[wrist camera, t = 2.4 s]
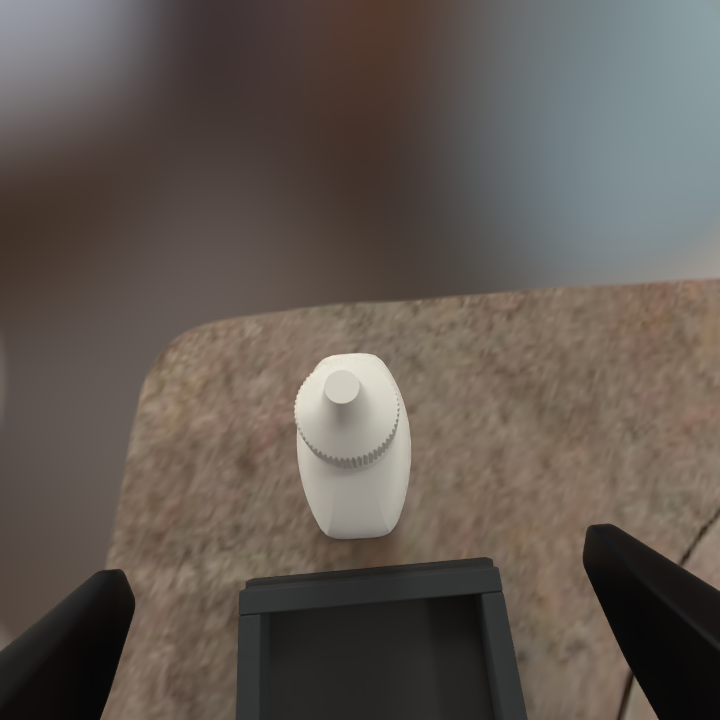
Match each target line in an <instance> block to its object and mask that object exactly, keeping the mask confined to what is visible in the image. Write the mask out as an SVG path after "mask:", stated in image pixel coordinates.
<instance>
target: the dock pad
mask: <svg viewBox="0 0 720 720" xmlns="http://www.w3.org/2000/svg"><path fill="white" fill-rule="evenodd" d="M501 591H502V584H501V579H500V574H499V569H498V568H497V567H494V566H493V561H492V559H490V558H486V557H484V558H473V559H462V560H451V561H440V562H429V563H418V564H407V565H397V566H386V567H375V568H364V569H353V570H342V571H331V572H320V573H310V574H299V575H288V576H277V577H266V578H255V579H251V580H248V581H246V589H244V590H241V591H240V593H239V615H241V616H239V627H238V667H237V707H236V720H527V714H526V709H525V704H524V699H523V694H522V688H521V683H520V678H519V673H518V668H517V662H516V657H515V652H514V647H513V642H512V636H511V631H510V626H509V621H508V616H507V610H506V605H505V600H504V595H503V592H501Z"/></svg>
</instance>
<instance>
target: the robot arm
mask: <svg viewBox="0 0 720 720" xmlns="http://www.w3.org/2000/svg"><path fill="white" fill-rule="evenodd" d="M583 564H584V568H585V570H586V573H587V575H588V577H589V579H590V582H591V584H592V586H593V588H594V591H595V593H596V595H597V598H598V600H599V602H600V604H601V607H602V609H603V611H604V613H605V616H606V618H607V620H608V622H609V625H610V627H611V629H612V631H613V634H614V636H615V638H616V640H617V642H618V645H619V647H620V649H621V651H622V653H623V655H624V657H625V659H626V661H627V663H628V665H629V666H630V668H631V670H632V672H633V674H634V676H635V677H636V679H637V681H638V683H639V685H640V686H641V688H642V690H643V692H644V694H645V695H646V697H647V699H648V701H649V703H650V704H651V706H652V708H653V710H654V712H655V713H656V715H657V717H658V719H659V720H720V591H719V590H717V589H715V588H714V587H712V586H711V585H709V584H707V583H706V582H704V581H703V580H701V579H699V578H698V577H696V576H695V575H693V574H691V573H690V572H688V571H687V570H685V569H683V568H682V567H680V566H679V565H677V564H675V563H674V562H672V561H671V560H669V559H667V558H666V557H664V556H663V555H661V554H659V553H658V552H656V551H655V550H653V549H651V548H650V547H648V546H647V545H645V544H643V543H642V542H640V541H639V540H637V539H635V538H634V537H632V536H631V535H629V534H627V533H626V532H624V531H623V530H621V529H619V528H618V527H616V526H614V525H612V524H598V525H591V526H589V527H588V529H587V532H586V538H585V544H584V550H583ZM134 610H135V598H134V595H133V592H132V590H131V587H130V585H129V583H128V580H127V578H126V575H125V573H124V572H123V571H122V570H121V569H112V570H102V571H99V572H97V573H95V574H94V575H93V576H92V577H90V578H89V579H88V580H87V581H85V582H84V583H83V584H82V585H80V586H79V587H78V588H77V589H76V590H75V591H73V592H72V593H71V594H70V595H68V596H67V597H66V598H65V599H63V600H62V601H61V602H60V603H59V604H57V605H56V606H55V607H54V608H52V609H51V610H50V611H49V612H48V613H47V614H45V615H44V616H43V617H42V618H40V619H39V620H38V621H37V622H35V623H34V624H33V625H32V626H31V627H29V628H28V629H27V630H26V631H24V632H23V633H22V634H21V635H20V636H19V637H17V638H16V639H15V640H14V641H12V642H11V643H10V644H9V645H8V646H6V647H5V648H4V649H3V650H1V651H0V720H100V718H101V715H102V713H103V710H104V707H105V705H106V702H107V699H108V696H109V693H110V690H111V687H112V683H113V680H114V677H115V674H116V670H117V667H118V664H119V660H120V657H121V654H122V651H123V647H124V644H125V641H126V637H127V634H128V631H129V627H130V624H131V621H132V618H133V614H134Z"/></svg>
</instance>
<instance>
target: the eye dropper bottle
mask: <svg viewBox="0 0 720 720" xmlns="http://www.w3.org/2000/svg"><path fill="white" fill-rule="evenodd" d="M300 387H301V389H300V390H299V391H298V392H299V394H298V395H297V396H296V397H297V400H296V401H295V403H296V405H295V406H294V408H295V409H296V410H295V411H294V413H295V417H294V418H295V419H296V422H295V423H296V425H297V455H298V464H299V470H300V475H301V479H302V484H303V488H304V491H305V494H306V498H307V500H308V503H309V506H310V508H311V511H312V513H313V515H314V517H315V519H316V521H317V523H318V525H319V527H320V529H321V530H322V531H323V532H324V533H325V534H326V535H327V536H329V537H332V538H336V539H360V538H374V537H382V536H384V535H387V534H389V533H390V532H391V531H392V530H393V528H394V527H395V526H396V524H397V522H398V519H399V517H400V514H401V511H402V508H403V505H404V501H405V497H406V493H407V487H408V482H409V475H410V466H411V439H410V430H409V422H408V418H407V413H406V409H405V406H404V402H403V399H402V397H401V394H400V391H399V389H398V387H397V384H396V383H395V381H394V379H393V377H392V375H391V373H390V372H389V370H388V368H387V367H386V365H385V364H384V363H383V361H382V360H380V359H379V358H378V357H376V356H375V355H371V354H365V353H357V354H342V355H334V356H330V357H327V358H325V359H323V360H322V361H321V362H320V363H319V364H318V365H317V367H316V368H315V370H314V372H313V373H311V374H310V377H307V378H306V381H304V382H303V385H302V386H300Z"/></svg>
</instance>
